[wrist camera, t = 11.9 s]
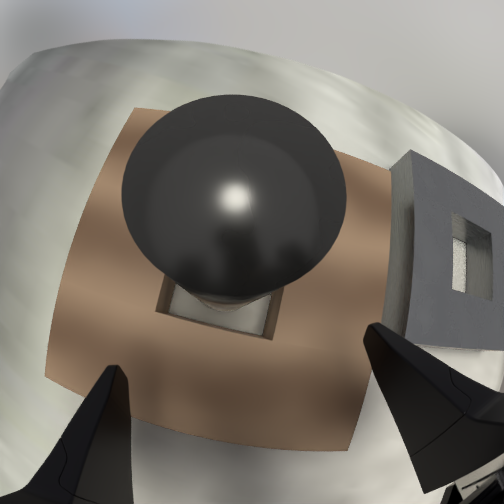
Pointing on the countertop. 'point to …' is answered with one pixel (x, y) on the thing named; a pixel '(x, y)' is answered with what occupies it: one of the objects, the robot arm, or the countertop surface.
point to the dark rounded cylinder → (233, 198)
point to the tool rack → (219, 338)
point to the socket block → (443, 259)
